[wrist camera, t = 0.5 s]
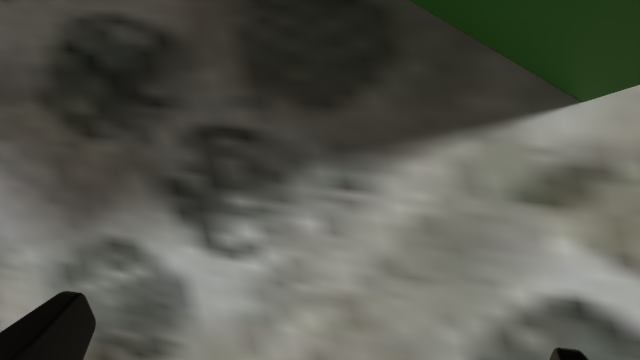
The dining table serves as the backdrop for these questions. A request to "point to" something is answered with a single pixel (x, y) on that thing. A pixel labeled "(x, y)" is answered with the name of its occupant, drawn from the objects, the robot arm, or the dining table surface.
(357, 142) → the dining table surface
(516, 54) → the hardback book
